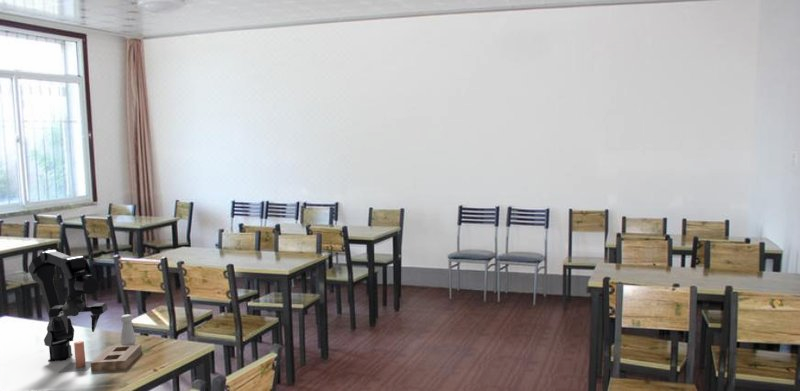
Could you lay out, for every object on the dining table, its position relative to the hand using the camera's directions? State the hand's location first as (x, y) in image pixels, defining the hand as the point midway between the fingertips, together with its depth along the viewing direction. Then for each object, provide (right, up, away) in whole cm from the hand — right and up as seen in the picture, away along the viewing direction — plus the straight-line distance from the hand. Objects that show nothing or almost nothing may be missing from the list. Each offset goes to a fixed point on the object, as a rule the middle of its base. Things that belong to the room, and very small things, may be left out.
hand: (80, 332), depth 226 cm
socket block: (+12, -12, +5) cm, 17 cm away
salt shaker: (+8, -11, +23) cm, 26 cm away
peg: (0, -13, +1) cm, 13 cm away
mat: (-1, -13, +1) cm, 13 cm away
